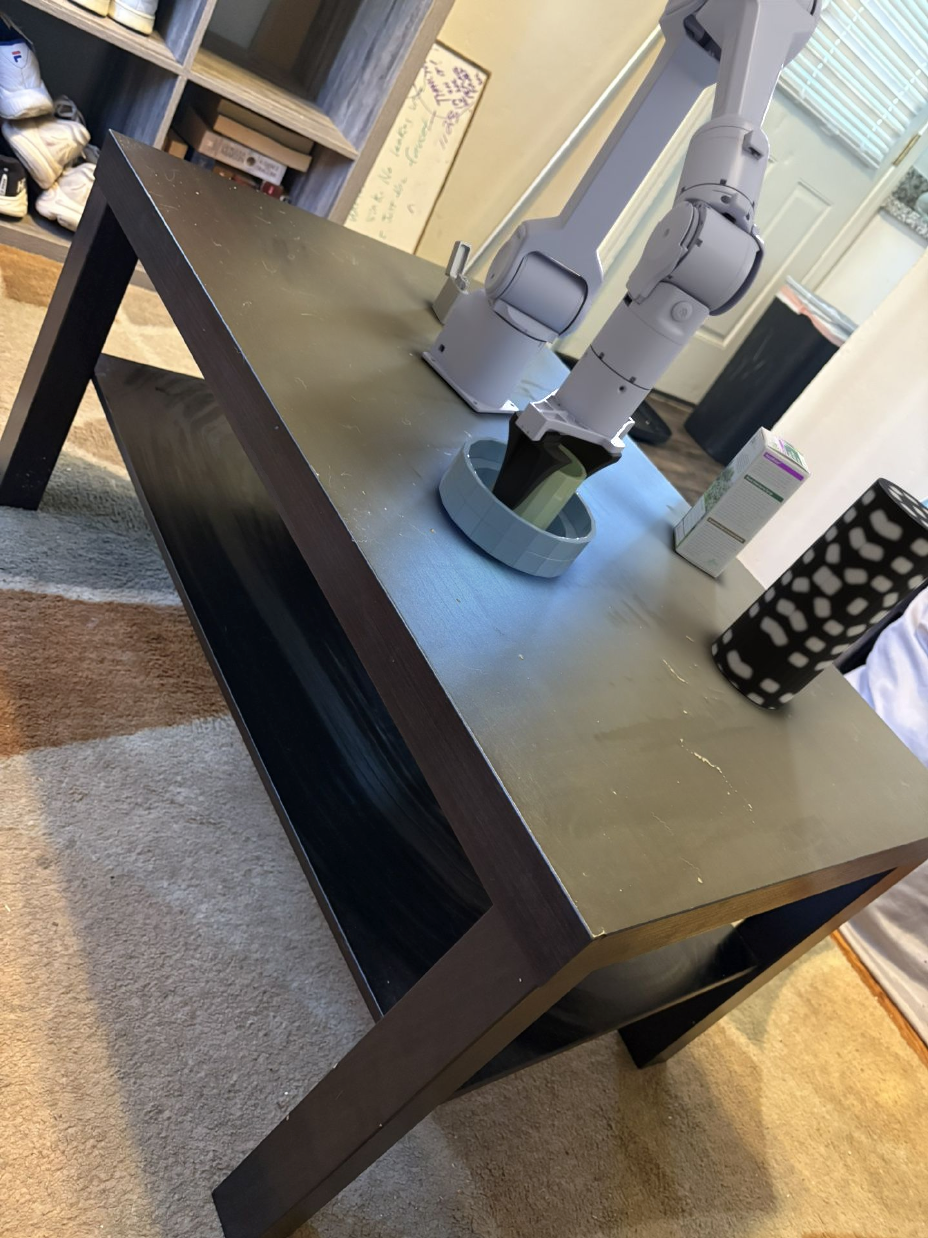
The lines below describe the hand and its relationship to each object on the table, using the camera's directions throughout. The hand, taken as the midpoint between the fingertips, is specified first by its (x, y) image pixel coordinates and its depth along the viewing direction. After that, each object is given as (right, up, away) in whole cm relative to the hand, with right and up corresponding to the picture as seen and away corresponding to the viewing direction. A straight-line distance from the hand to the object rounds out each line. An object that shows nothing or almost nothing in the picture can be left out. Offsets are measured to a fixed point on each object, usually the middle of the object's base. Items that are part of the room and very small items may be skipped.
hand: (521, 501), depth 73 cm
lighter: (-8, +28, +34) cm, 45 cm away
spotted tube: (+21, -15, +8) cm, 27 cm away
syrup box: (+20, -3, +22) cm, 30 cm away
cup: (-1, -1, +1) cm, 2 cm away
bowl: (-2, -2, +2) cm, 3 cm away
